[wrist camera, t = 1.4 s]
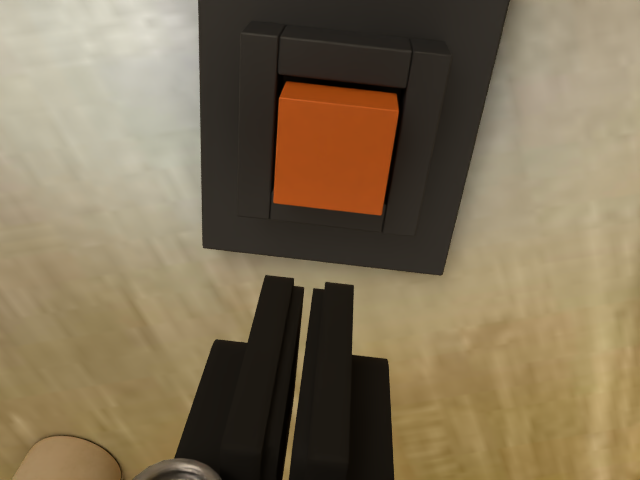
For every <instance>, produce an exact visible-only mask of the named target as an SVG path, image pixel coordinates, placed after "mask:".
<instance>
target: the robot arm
mask: <svg viewBox="0 0 640 480" xmlns="http://www.w3.org/2000/svg"><path fill="white" fill-rule="evenodd" d="M303 296H304V287H298V286H294V278H286V277H277V276H269V275H266V276H265V278H264V282H263V285H262V289H261V293H260V297H259V301H258V305H257V308H256V312H255V316H254V320H253V324H252V328H251V332H250V335H249V339H248V343H244V342H235V341H226V340H218V339H216V340H215V341H214V343H213V345H212V348H211V351H210V354H209V357H208V360H207V363H206V366H205V369H204V372H203V375H202V378H201V381H200V383H199V386H198V389H197V392H196V395H195V398H194V401H193V404H192V407H191V410H190V413H189V416H188V419H187V422H186V425H185V428H184V431H183V434H182V437H181V440H180V443H179V446H178V449H177V452H176V455H175V458H174V459H170V460H164V461H161V462H159V463H157V464H154V465H152V466H149V467H148V468H146V469H145V470H144V471H142V472H141V473H140V474H138V475H137V476H136V477H135V478H134V479H133V480H282V478H283V471H284V464H285V457H286V450H287V443H288V436H289V428H290V421H291V414H292V407H293V399H294V391H295V380H296V370H297V359H298V349H299V338H300V328H301V317H302V307H303ZM353 297H354V285H348V284H339V283H330V282H325V290H324V289H315V288H313V295H312V302H311V310H310V318H309V325H308V333H307V341H306V348H305V356H304V363H303V371H302V379H301V386H300V394H299V402H298V409H297V417H296V424H295V432H294V440H293V448H292V456H291V465H290V475H289V480H394V465H393V445H392V424H391V403H390V383H389V365H388V360H387V359H383V358H374V357H366V356H357V355H352V330H353Z"/></svg>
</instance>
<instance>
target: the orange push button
mask: <svg viewBox="0 0 640 480" xmlns="http://www.w3.org/2000/svg"><path fill="white" fill-rule="evenodd" d="M509 2H510V0H198V13H199V70H200V127H201V184H202V241H203V248H207V249H216V250H224V251H233V252H242V253H250V254H259V255H268V256H276V257H285V258H294V259H302V260H311V261H320V262H328V263H337V264H346V265H354V266H363V267H371V268H380V269H389V270H397V271H406V272H415V273H423V274H432V275H442V274H443V272H444V267H445V263H446V259H447V255H448V251H449V247H450V243H451V239H452V235H453V231H454V227H455V223H456V219H457V214H458V210H459V206H460V202H461V198H462V194H463V190H464V186H465V182H466V178H467V174H468V170H469V166H470V161H471V157H472V153H473V149H474V145H475V141H476V137H477V133H478V129H479V125H480V121H481V117H482V113H483V108H484V104H485V100H486V96H487V92H488V88H489V84H490V80H491V76H492V72H493V68H494V64H495V60H496V55H497V51H498V47H499V43H500V39H501V35H502V31H503V27H504V23H505V19H506V15H507V11H508V6H509ZM286 81H291V82H300V83H309V84H318V85H327V86H336V87H345V88H354V89H363V90H372V91H381V92H390V93H396V94H397V100H398V108H399V115H398V121H397V127H396V133H395V139H394V145H393V151H392V157H391V163H390V169H389V175H388V181H387V187H386V193H385V199H384V205H383V211H382V215H372V214H363V213H354V212H345V211H337V210H328V209H319V208H310V207H302V206H293V205H284V204H275V203H274V202H273V198H274V180H275V162H276V143H277V125H278V107H279V97H280V95H281V92H282V90H283V88H284V85H285V83H286Z"/></svg>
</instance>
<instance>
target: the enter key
mask: <svg viewBox="0 0 640 480" xmlns="http://www.w3.org/2000/svg"><path fill="white" fill-rule="evenodd" d="M398 115H399V108H398V100H397V94H396V93H390V92H381V91H372V90H363V89H354V88H345V87H336V86H327V85H318V84H309V83H300V82H291V81H286V83H285V85H284V88H283V90H282V92H281V95H280V97H279V107H278V125H277V143H276V162H275V180H274V198H273V202H274V203H275V204H284V205H293V206H302V207H310V208H319V209H328V210H337V211H345V212H354V213H363V214H372V215H382V211H383V205H384V199H385V193H386V187H387V181H388V175H389V169H390V163H391V157H392V151H393V145H394V139H395V133H396V127H397V121H398Z"/></svg>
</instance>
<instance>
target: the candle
mask: <svg viewBox="0 0 640 480" xmlns="http://www.w3.org/2000/svg"><path fill="white" fill-rule="evenodd" d="M12 480H121V471H120V468H119V465H118V464H117V462H116V461H115V459H114V458H113V457H112V456H111V455H110V454H109V453H108V452H106V451H105V450H104V449H102V448H101V447H99V446H97V445H95V444H93V443H91V442H89V441H86V440H83V439H80V438H76V437H70V436H54V437H48V438H45V439H42V440H40V441H39V442H37V443H36V444H35V445H34V446H33V447H32V448H31V449H30V451H29V452H28V454H27V455H26V457H25V458H24V460H23V462H22V463H21V465H20V466H19V468H18V470H17V471H16V473H15V475H14V476H13V478H12Z"/></svg>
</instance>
